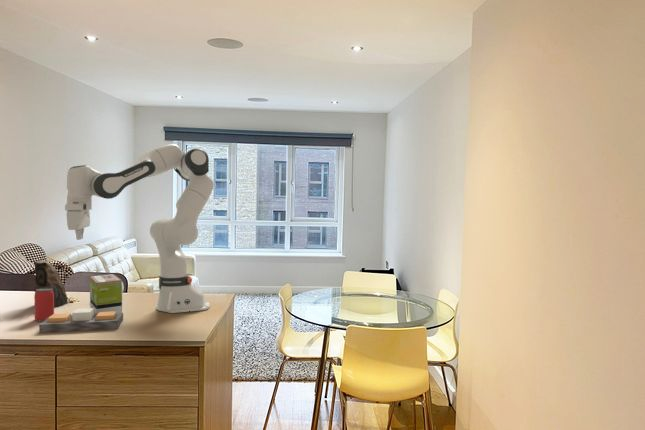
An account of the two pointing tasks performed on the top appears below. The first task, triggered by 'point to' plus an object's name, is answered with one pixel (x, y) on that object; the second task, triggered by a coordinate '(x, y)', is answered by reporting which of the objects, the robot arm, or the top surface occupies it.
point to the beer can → (44, 303)
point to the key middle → (83, 314)
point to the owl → (50, 281)
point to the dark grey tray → (81, 325)
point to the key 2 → (106, 315)
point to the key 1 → (59, 317)
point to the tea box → (106, 293)
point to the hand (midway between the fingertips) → (79, 239)
